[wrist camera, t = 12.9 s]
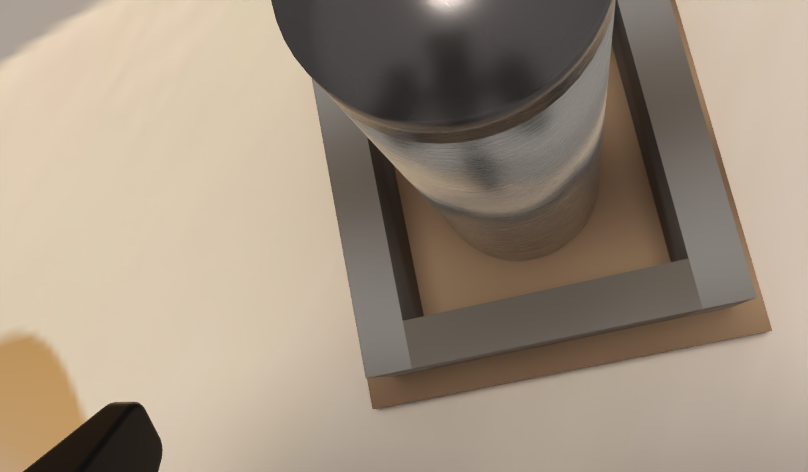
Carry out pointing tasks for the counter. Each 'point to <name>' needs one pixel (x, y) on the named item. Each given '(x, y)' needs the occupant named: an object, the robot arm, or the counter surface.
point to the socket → (567, 267)
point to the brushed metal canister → (473, 104)
